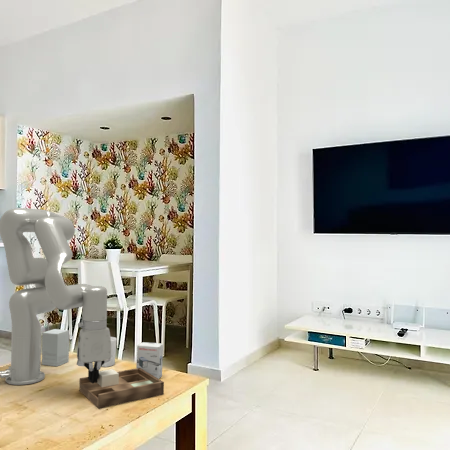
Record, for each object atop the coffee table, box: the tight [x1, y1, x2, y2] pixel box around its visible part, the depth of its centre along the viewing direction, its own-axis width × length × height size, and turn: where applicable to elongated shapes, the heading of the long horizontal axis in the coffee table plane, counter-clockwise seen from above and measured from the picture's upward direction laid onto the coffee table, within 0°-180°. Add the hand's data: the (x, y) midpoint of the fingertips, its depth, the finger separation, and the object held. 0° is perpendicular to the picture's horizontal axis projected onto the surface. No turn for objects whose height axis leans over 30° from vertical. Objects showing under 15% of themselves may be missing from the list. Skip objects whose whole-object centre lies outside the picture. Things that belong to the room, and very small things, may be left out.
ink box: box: [135, 342, 164, 379], centre depth 163 cm, size 9×5×12 cm, turn 81°
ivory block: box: [97, 368, 119, 387], centre depth 148 cm, size 6×6×4 cm
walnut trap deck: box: [78, 367, 165, 410], centre depth 147 cm, size 22×18×4 cm
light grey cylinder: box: [101, 336, 118, 368], centre depth 177 cm, size 8×8×10 cm
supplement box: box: [41, 328, 70, 367], centre depth 177 cm, size 7×7×13 cm
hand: (93, 381), depth 145 cm, fingers closed
